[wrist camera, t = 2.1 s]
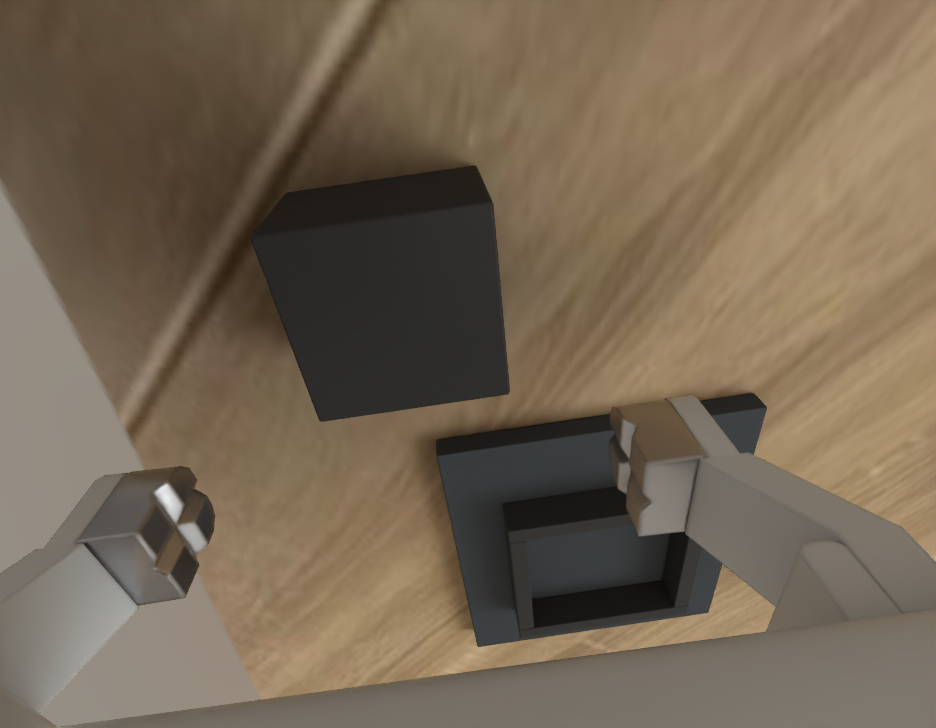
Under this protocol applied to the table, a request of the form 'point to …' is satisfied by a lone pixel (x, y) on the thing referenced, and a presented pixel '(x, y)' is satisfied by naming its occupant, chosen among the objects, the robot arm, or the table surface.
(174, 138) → the table surface
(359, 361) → the black box
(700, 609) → the socket base plate
